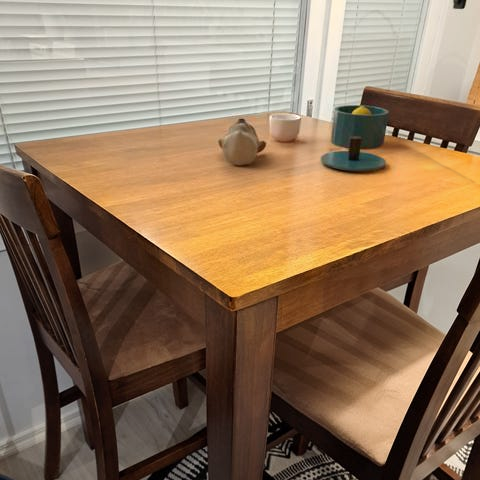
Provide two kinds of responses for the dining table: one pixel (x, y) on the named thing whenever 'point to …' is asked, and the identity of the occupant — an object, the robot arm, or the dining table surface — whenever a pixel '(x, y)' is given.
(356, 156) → the lid
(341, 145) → the pot
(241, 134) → the ceramic sculpture
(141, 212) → the dining table surface
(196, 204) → the dining table surface
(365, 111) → the lemon
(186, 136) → the dining table surface
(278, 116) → the teacup
